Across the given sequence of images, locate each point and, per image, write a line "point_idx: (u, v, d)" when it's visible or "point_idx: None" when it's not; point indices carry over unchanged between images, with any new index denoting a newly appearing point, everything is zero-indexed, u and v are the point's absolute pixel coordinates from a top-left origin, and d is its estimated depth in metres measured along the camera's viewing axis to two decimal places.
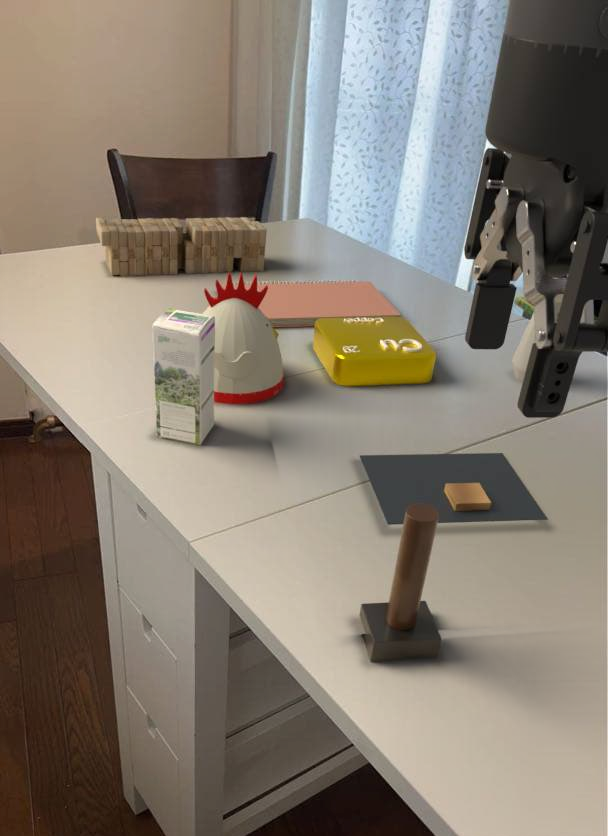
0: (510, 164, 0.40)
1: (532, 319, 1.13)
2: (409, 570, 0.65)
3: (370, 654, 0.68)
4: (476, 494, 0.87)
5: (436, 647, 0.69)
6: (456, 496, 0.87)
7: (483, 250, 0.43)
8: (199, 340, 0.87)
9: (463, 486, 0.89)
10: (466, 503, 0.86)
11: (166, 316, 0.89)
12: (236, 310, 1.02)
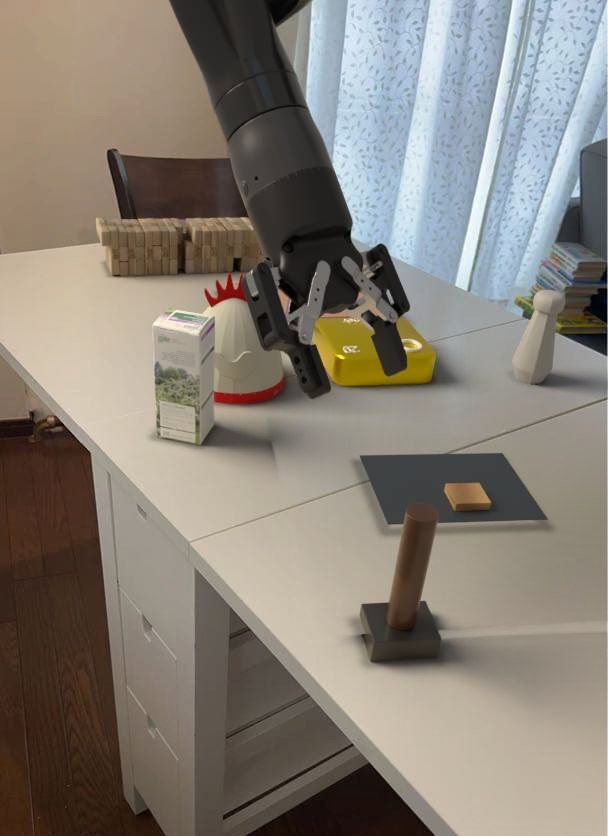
0: None
1: (532, 319, 1.13)
2: (409, 570, 0.65)
3: (370, 654, 0.68)
4: (476, 494, 0.87)
5: (436, 647, 0.69)
6: (456, 496, 0.87)
7: None
8: (199, 340, 0.87)
9: (463, 486, 0.89)
10: (466, 503, 0.86)
11: (166, 316, 0.89)
12: (236, 310, 1.02)
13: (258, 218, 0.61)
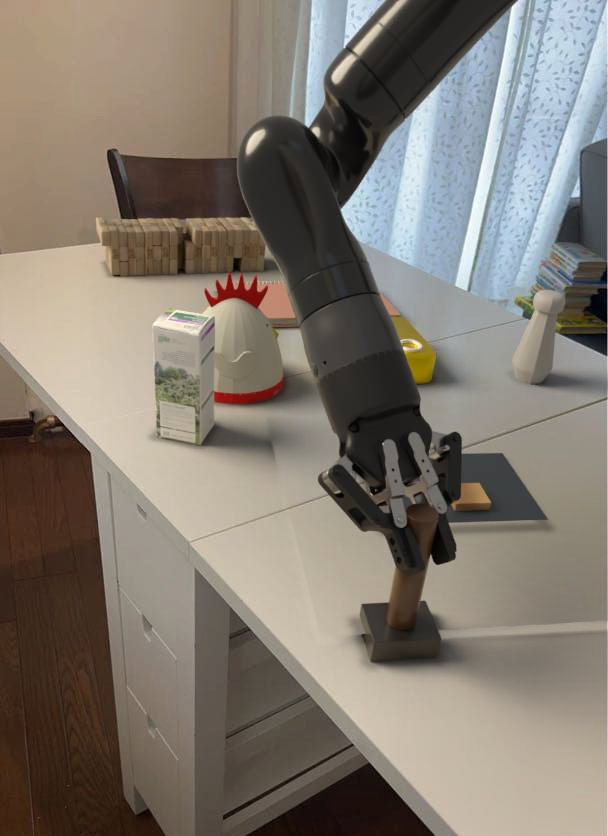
0: None
1: (532, 319, 1.13)
2: None
3: (370, 654, 0.68)
4: (476, 494, 0.87)
5: (436, 647, 0.69)
6: None
7: (404, 491, 0.66)
8: (199, 340, 0.87)
9: (463, 486, 0.89)
10: (466, 503, 0.86)
11: (166, 316, 0.89)
12: (236, 310, 1.02)
13: (326, 398, 0.63)
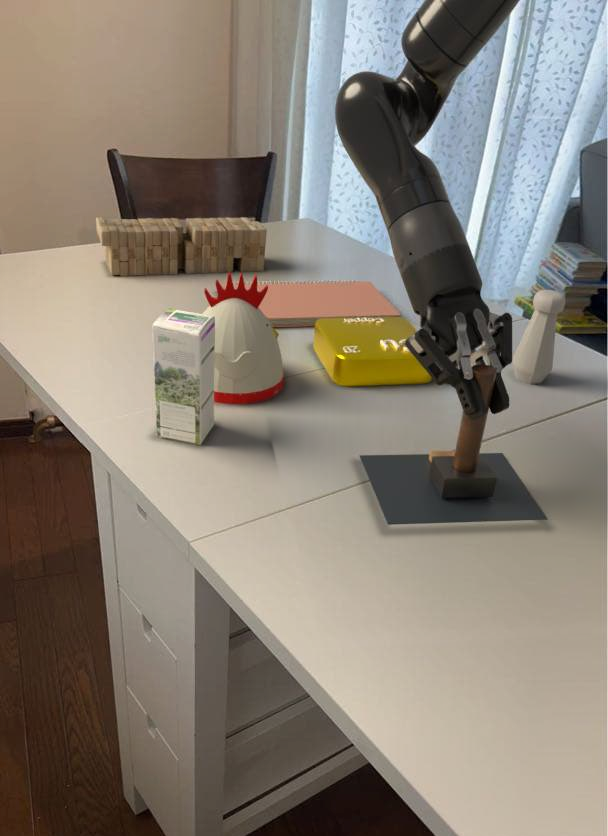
0: None
1: (532, 319, 1.13)
2: None
3: (441, 490, 0.87)
4: None
5: (493, 485, 0.88)
6: None
7: None
8: (199, 340, 0.87)
9: (446, 454, 0.94)
10: None
11: (166, 316, 0.89)
12: (236, 310, 1.02)
13: (411, 282, 0.82)
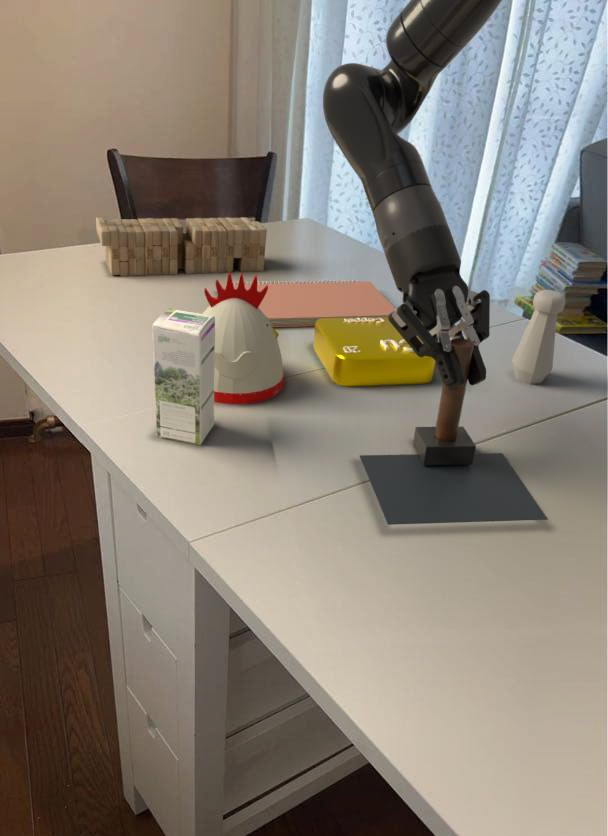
0: None
1: (532, 319, 1.13)
2: None
3: (423, 458, 0.93)
4: None
5: (472, 453, 0.93)
6: None
7: None
8: (199, 340, 0.87)
9: None
10: None
11: (166, 316, 0.89)
12: (236, 310, 1.02)
13: (394, 260, 0.88)
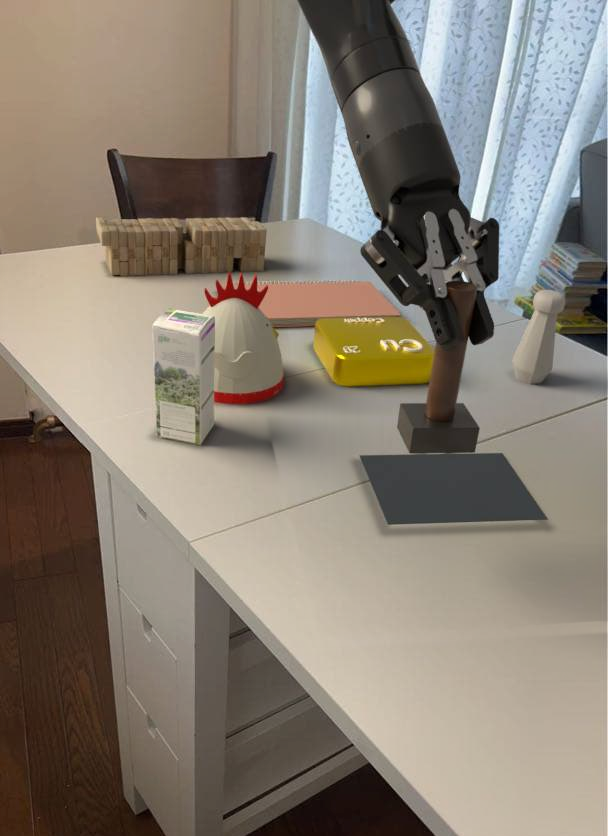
0: None
1: (532, 319, 1.13)
2: None
3: (409, 444, 0.70)
4: None
5: (474, 438, 0.70)
6: None
7: None
8: (199, 340, 0.87)
9: None
10: None
11: (166, 316, 0.89)
12: (236, 310, 1.02)
13: (369, 174, 0.64)
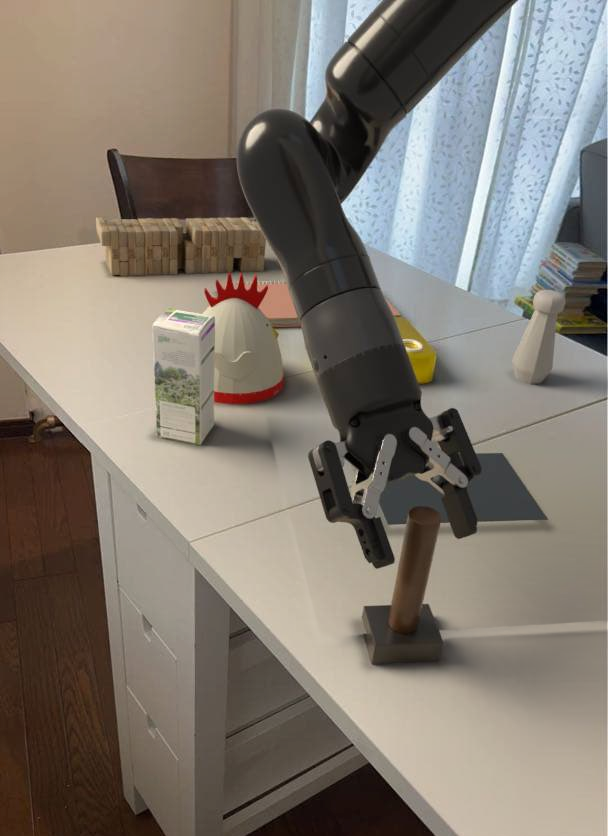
0: None
1: (532, 319, 1.13)
2: (411, 573, 0.64)
3: (371, 656, 0.68)
4: None
5: (438, 651, 0.68)
6: None
7: None
8: (199, 340, 0.87)
9: None
10: None
11: (166, 316, 0.89)
12: (236, 310, 1.02)
13: (327, 392, 0.63)
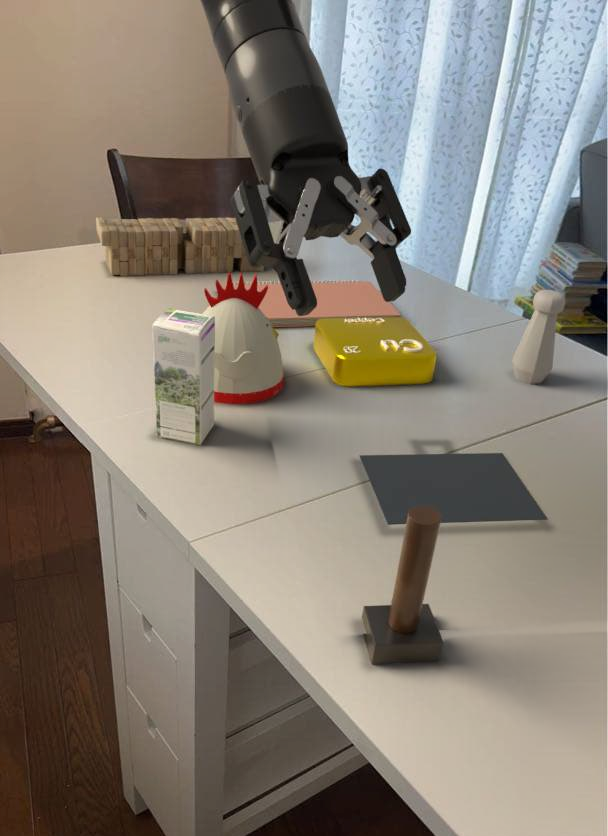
0: None
1: (532, 319, 1.13)
2: (411, 573, 0.64)
3: (371, 656, 0.68)
4: None
5: (438, 651, 0.68)
6: None
7: None
8: (199, 340, 0.87)
9: None
10: None
11: (166, 316, 0.89)
12: (236, 310, 1.02)
13: (251, 140, 0.62)
